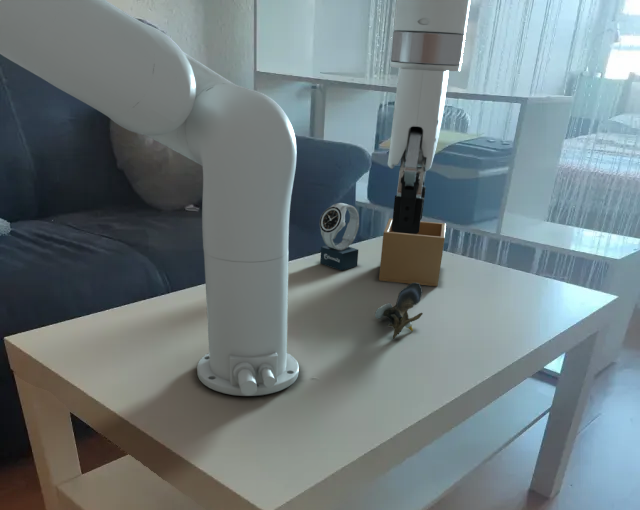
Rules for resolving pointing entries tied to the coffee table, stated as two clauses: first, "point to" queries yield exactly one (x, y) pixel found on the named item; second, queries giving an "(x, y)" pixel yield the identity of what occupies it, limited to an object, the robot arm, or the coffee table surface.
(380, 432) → the coffee table surface
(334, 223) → the watch
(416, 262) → the box
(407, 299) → the eagle figurine
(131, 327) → the coffee table surface
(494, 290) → the coffee table surface
